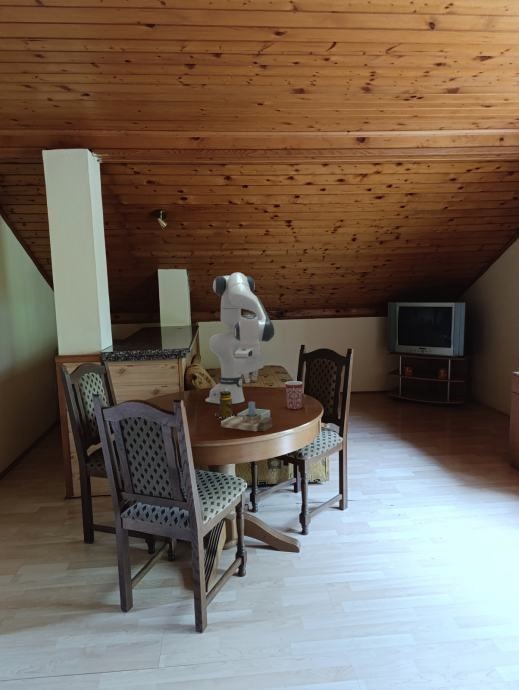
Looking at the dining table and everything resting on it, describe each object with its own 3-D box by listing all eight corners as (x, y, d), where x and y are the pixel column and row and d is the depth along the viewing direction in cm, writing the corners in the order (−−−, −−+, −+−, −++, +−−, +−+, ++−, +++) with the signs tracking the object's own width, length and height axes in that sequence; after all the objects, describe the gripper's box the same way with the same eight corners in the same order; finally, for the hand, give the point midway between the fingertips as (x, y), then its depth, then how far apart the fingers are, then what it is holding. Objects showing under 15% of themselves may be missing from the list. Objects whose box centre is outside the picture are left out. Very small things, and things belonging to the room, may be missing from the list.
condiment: (234, 416, 226) (233, 393, 225) (217, 418, 224) (216, 394, 223) (231, 413, 233) (230, 390, 232) (215, 414, 231) (214, 391, 230)
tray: (237, 421, 218) (237, 413, 218) (249, 415, 228) (249, 408, 228) (259, 423, 213) (259, 416, 212) (270, 417, 223) (270, 410, 223)
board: (221, 426, 210) (220, 415, 209) (232, 421, 219) (231, 409, 218) (256, 431, 201) (255, 419, 201) (266, 425, 210) (265, 413, 210)
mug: (303, 410, 235) (303, 384, 233) (285, 410, 236) (285, 384, 234) (302, 404, 248) (302, 379, 246) (285, 404, 248) (285, 379, 246)
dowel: (247, 422, 207) (247, 402, 206) (250, 420, 210) (250, 401, 209) (253, 422, 206) (253, 403, 205) (256, 421, 208) (256, 401, 207)
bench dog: (258, 430, 202) (258, 422, 202) (266, 425, 209) (266, 417, 209) (264, 431, 201) (264, 422, 200) (272, 426, 208) (272, 418, 207)
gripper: (254, 347, 215) (255, 376, 216) (232, 353, 196) (233, 385, 198) (266, 348, 212) (267, 377, 213) (245, 354, 194) (246, 386, 195)
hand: (251, 381), depth 205 cm, fingers open, 5 cm apart
